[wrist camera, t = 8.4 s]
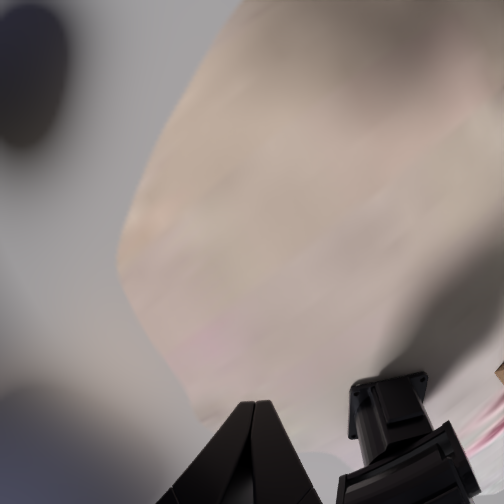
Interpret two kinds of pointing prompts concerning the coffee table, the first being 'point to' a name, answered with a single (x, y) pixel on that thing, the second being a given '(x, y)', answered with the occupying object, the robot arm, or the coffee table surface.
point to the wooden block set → (500, 373)
